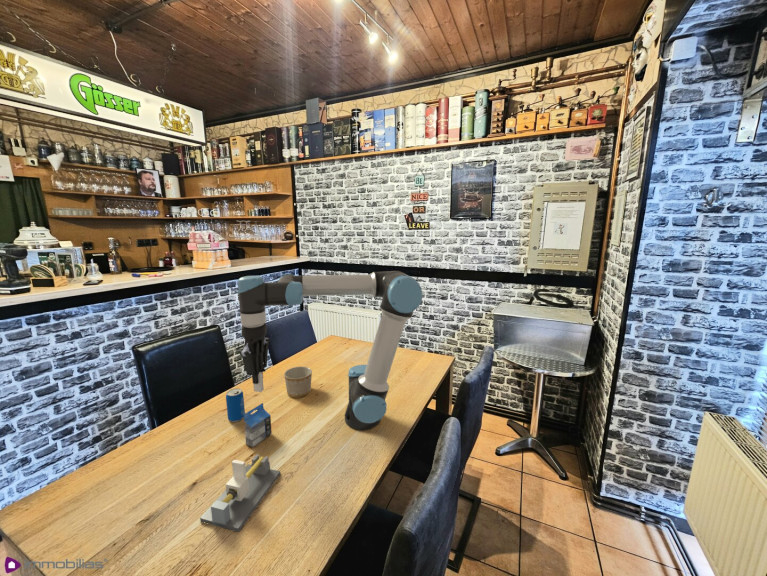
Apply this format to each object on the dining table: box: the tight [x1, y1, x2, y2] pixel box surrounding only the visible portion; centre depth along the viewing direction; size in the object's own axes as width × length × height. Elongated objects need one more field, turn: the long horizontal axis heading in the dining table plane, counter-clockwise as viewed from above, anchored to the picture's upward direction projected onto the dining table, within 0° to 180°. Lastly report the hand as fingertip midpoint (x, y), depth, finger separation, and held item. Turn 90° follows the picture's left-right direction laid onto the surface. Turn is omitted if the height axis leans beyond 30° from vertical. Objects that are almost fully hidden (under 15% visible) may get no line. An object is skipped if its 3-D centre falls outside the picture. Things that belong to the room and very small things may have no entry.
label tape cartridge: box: [243, 403, 273, 448], centre depth 116 cm, size 9×4×12 cm, turn 151°
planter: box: [283, 366, 313, 399], centre depth 149 cm, size 13×13×10 cm
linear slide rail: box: [199, 454, 281, 533], centre depth 93 cm, size 12×20×6 cm, turn 166°
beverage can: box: [225, 387, 246, 423], centre depth 129 cm, size 6×6×12 cm
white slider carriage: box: [225, 459, 249, 501], centre depth 90 cm, size 5×4×10 cm
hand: (258, 390), depth 106 cm, fingers closed
